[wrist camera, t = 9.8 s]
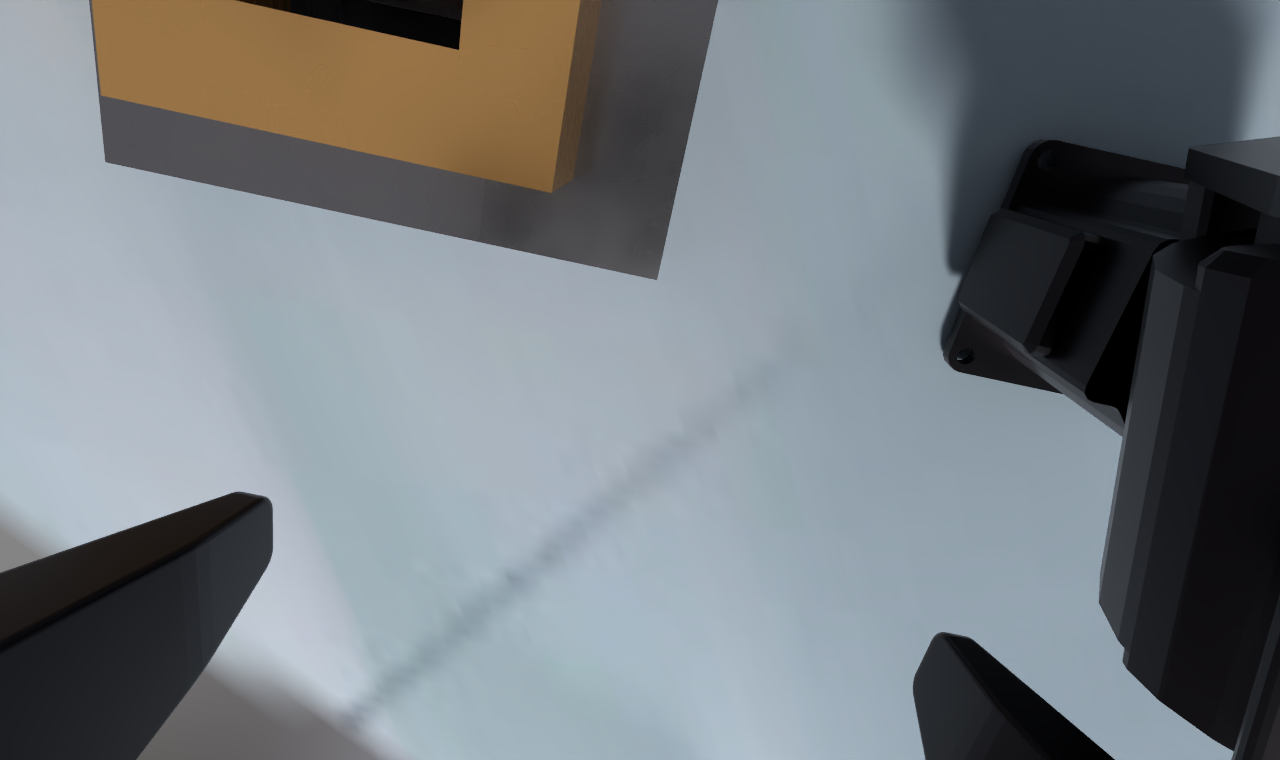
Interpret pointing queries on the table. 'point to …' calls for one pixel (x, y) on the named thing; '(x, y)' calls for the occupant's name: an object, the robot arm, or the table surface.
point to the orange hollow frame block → (420, 114)
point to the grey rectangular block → (429, 6)
